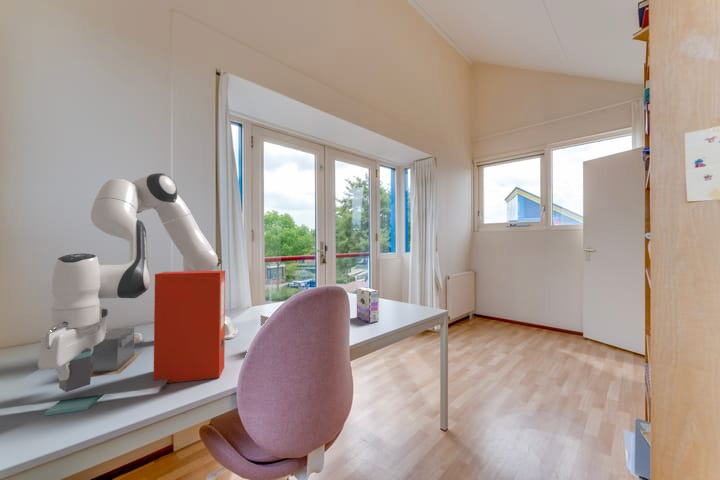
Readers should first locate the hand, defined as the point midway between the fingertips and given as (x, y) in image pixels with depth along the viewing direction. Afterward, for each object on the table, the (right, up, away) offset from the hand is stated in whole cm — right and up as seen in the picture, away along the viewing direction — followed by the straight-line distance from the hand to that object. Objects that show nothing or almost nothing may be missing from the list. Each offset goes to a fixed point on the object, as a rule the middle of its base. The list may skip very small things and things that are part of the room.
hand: (75, 372), depth 73 cm
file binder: (+21, -9, +15) cm, 27 cm away
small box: (+39, -9, +40) cm, 56 cm away
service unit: (-7, -7, +20) cm, 22 cm away
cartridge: (0, -4, 0) cm, 4 cm away
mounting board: (-7, -8, +20) cm, 22 cm away
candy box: (+77, -9, +80) cm, 111 cm away
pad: (0, -8, 0) cm, 8 cm away
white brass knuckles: (-21, -9, +38) cm, 44 cm away
